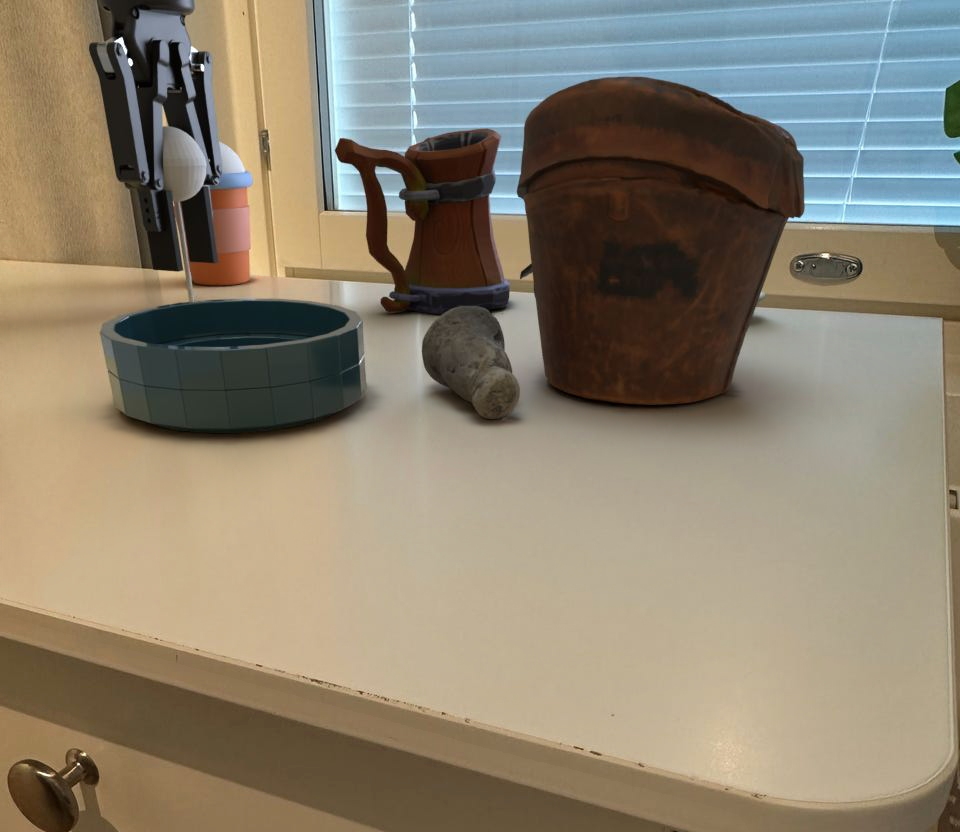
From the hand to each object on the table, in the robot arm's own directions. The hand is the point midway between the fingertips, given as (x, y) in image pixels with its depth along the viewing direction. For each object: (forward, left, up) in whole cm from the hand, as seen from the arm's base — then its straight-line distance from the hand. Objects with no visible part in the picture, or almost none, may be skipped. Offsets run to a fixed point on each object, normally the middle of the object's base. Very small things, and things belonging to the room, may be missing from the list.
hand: (186, 265), depth 83 cm
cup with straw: (-6, +14, -4) cm, 16 cm away
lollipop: (0, 0, -4) cm, 4 cm away
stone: (+36, -20, -4) cm, 41 cm away
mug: (+21, +8, -4) cm, 23 cm away
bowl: (+22, -26, -4) cm, 34 cm away
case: (+45, -12, -4) cm, 47 cm away
